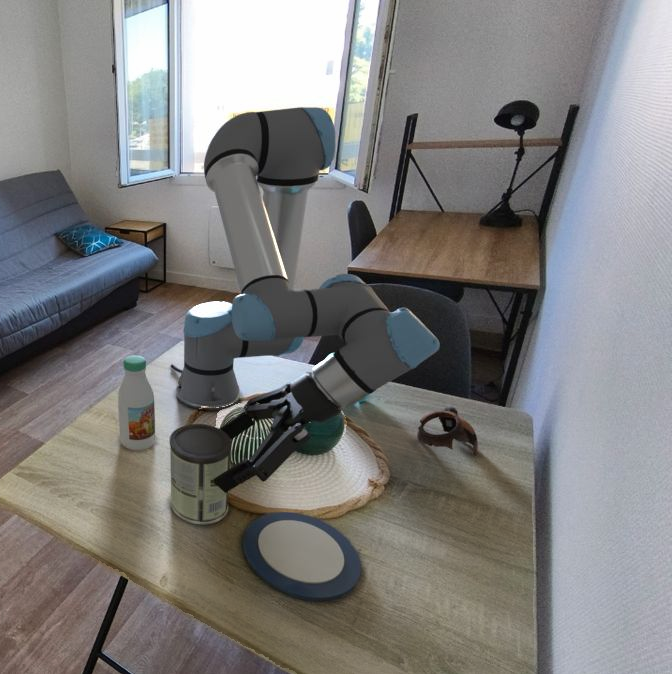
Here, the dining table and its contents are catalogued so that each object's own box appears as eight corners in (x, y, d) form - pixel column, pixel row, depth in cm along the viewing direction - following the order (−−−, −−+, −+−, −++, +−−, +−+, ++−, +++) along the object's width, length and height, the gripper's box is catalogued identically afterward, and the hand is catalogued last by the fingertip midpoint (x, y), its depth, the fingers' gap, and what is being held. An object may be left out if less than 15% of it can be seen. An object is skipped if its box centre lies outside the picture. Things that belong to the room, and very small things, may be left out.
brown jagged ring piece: (484, 467, 95) (469, 437, 92) (426, 470, 101) (410, 442, 99) (479, 422, 103) (466, 393, 100) (425, 427, 109) (411, 400, 107)
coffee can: (187, 478, 98) (188, 417, 93) (237, 500, 92) (242, 435, 86) (158, 508, 91) (157, 444, 86) (210, 534, 85) (213, 466, 79)
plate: (222, 557, 80) (222, 551, 80) (273, 501, 91) (274, 496, 90) (333, 624, 69) (334, 618, 68) (377, 551, 79) (378, 545, 79)
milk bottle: (116, 448, 109) (111, 366, 101) (124, 428, 115) (120, 350, 107) (151, 453, 106) (149, 369, 98) (158, 432, 113) (156, 352, 105)
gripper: (362, 456, 65) (236, 527, 76) (330, 368, 87) (235, 433, 97) (322, 418, 65) (200, 494, 75) (300, 339, 87) (207, 407, 97)
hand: (220, 460), depth 86 cm, fingers open, 13 cm apart
